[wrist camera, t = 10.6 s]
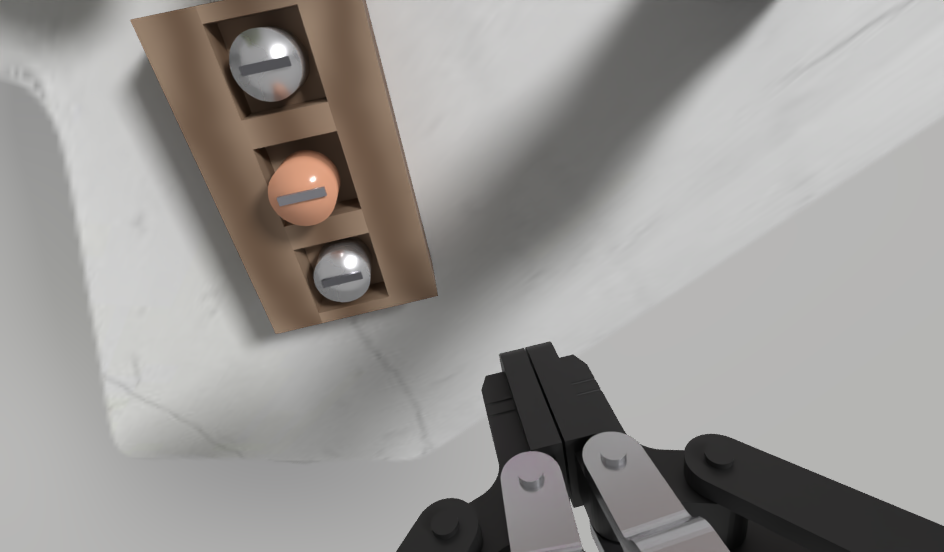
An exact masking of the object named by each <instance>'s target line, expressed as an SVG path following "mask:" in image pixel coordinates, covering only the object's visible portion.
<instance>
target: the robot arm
mask: <svg viewBox="0 0 944 552" xmlns="http://www.w3.org/2000/svg"><path fill="white" fill-rule="evenodd" d="M499 357H500V362H501V367H502V372H500V373H496V374H492V375H488V376H486V377H485V380H484V384H483V387H482V394H483V399H484V403H485V407H486V412H487V416H488V420H489V425H490V429H491V433H492V437H493V441H494V445H495V450H496V454H497V458H498V462H499V473H498V476H497V479H496V481H495V482H494V484H493V485H492V487H491V488H490V489H489V490H488V491H487V492H486V493H484V494H483V495H482V496H480V497H478V498H477V499H475V500H473V501H472V502H470V503H467V502H465V501H463V500H460V499H454V498H447V499H442V500H439V501H437V502H435V503H433V504H431V505H430V506H429V507H427V508H426V509H425V510H424V511H423V512H422V514H421V515H420V516H419V518H418V519H417V521H416V522H415V524H414V525H413V527H412V528H411V530H410V531H409V533H408V534H407V536H406V538H405V539H404V541H403V542H402V544H401V545H400V547H399V548H398V550H397V551H396V552H585V551H584V550H583V547H582V544H581V541H580V537H579V533H578V531H577V527H576V523H575V520H574V515H573V512H572V508H571V505H570V499H571V502H572V505H573V507H574V508H575V507H579V506H582V505H584V507H585V509H586V511H587V514H588V517H589V519H590V529H591V534H592V537H593V539H594V541H595V543H596V546H597V548H598V550H599V552H944V526H942V525H940V524H937V523H935V522H933V521H930V520H928V519H925V518H923V517H921V516H918V515H916V514H913V513H911V512H908V511H906V510H903V509H901V508H899V507H896V506H894V505H891V504H889V503H887V502H884V501H882V500H879V499H877V498H874V497H872V496H870V495H867V494H865V493H863V492H860V491H858V490H855V489H853V488H851V487H848V486H846V485H843V484H841V483H838V482H836V481H834V480H831V479H829V478H826V477H824V476H821V475H819V474H817V473H814V472H812V471H809V470H807V469H805V468H802V467H800V466H797V465H795V464H792V463H790V462H788V461H785V460H783V459H781V458H778V457H776V456H773V455H771V454H768V453H766V452H764V451H761V450H759V449H756V448H754V447H751V446H749V445H747V444H744V443H742V442H740V441H737V440H735V439H732V438H730V437H727V436H723V435H718V434H705V435H700V436H698V437H695V438H693V439H692V440H691V441H690V442H689V443H688V444H687V446H686V447H685V451H684V450H659V449H652V448H648V447H645V446H643V445H641V444H639V442H638V441H636V440H635V439H634V438H632V437H631V436H629V435H627V434H626V433H625V431H624V430H623V428H622V426H621V425H620V423H619V421H618V419H617V417H616V416H615V414H614V412H613V410H612V408H611V407H610V405H609V403H608V401H607V400H606V398H605V396H604V394H603V392H602V391H601V390H600V387H599V385H598V383H597V382H596V380H595V379H594V376H593V375H592V373H591V371H590V369H589V367H588V366H587V364H585V363H584V362H583V361H581V360H580V359H579V358H577V357H576V356H574V355H570V356H566V357H561V358H559V357H558V355H557V353H556V351H555V349H554V347H553V345H552V343H551V342H546V343H542V344H538V345H534V346H529V347H526V348H525V349H524V348H522V349H518V350H513V351H509V352H505V353H501V354H499Z"/></svg>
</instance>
